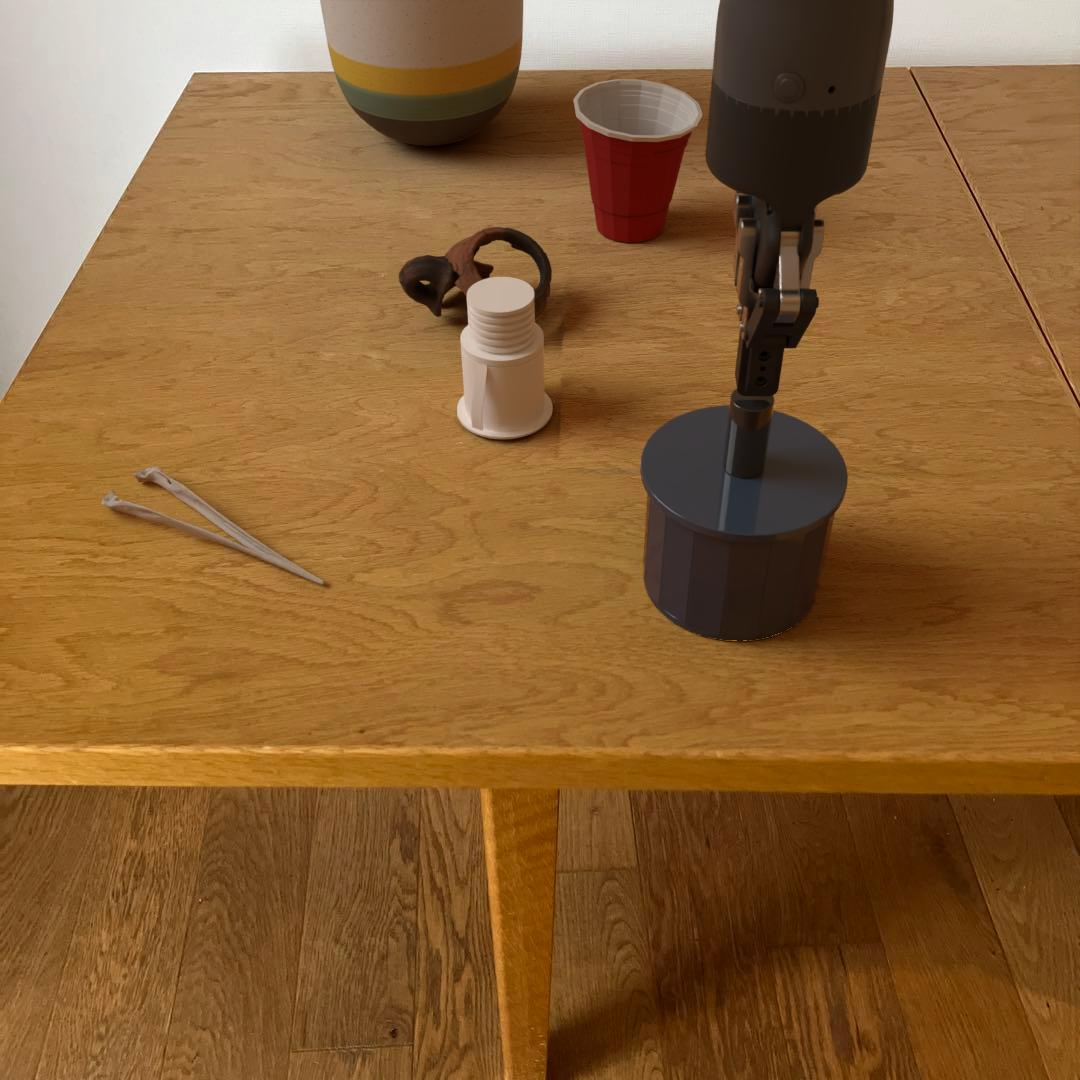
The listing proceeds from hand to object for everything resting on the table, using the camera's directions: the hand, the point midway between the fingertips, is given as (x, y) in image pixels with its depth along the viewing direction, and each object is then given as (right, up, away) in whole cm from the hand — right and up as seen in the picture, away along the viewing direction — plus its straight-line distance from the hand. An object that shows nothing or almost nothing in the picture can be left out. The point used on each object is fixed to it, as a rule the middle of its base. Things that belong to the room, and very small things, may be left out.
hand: (755, 387), depth 65 cm
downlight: (-14, +1, +23) cm, 27 cm away
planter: (-23, +34, +58) cm, 71 cm away
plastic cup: (-3, +19, +42) cm, 47 cm away
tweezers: (-33, -8, +13) cm, 36 cm away
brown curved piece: (-17, +10, +33) cm, 38 cm away
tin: (0, -11, +10) cm, 15 cm away
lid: (0, -4, +4) cm, 6 cm away
